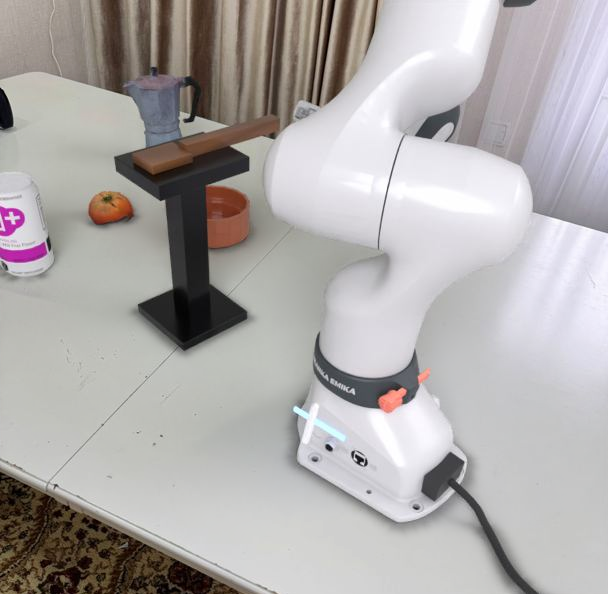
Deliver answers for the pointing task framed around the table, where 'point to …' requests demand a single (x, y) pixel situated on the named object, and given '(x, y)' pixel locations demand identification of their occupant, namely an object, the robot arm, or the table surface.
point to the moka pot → (161, 104)
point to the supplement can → (23, 227)
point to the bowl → (226, 216)
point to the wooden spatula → (203, 144)
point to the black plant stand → (188, 245)
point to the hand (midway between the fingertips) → (319, 122)
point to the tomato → (109, 207)
